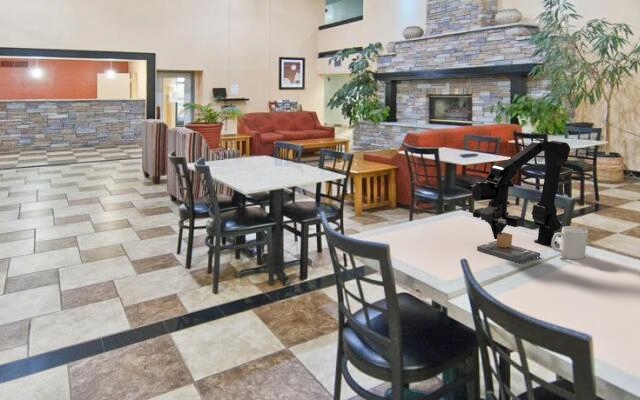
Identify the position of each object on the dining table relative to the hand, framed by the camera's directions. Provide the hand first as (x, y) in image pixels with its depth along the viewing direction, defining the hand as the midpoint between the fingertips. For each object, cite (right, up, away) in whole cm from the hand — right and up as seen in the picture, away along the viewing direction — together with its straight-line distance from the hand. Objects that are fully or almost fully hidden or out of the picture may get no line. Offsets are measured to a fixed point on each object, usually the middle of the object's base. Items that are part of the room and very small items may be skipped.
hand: (496, 239), depth 186 cm
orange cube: (+2, -3, -2) cm, 4 cm away
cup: (+23, -6, -8) cm, 25 cm away
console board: (+2, -5, -6) cm, 8 cm away
